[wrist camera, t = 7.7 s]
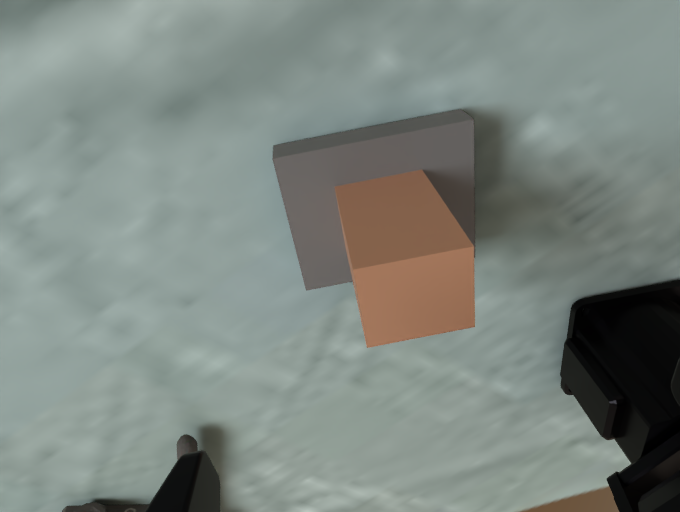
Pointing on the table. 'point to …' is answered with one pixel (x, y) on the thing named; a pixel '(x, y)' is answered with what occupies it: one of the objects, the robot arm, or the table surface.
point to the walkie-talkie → (184, 446)
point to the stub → (388, 221)
